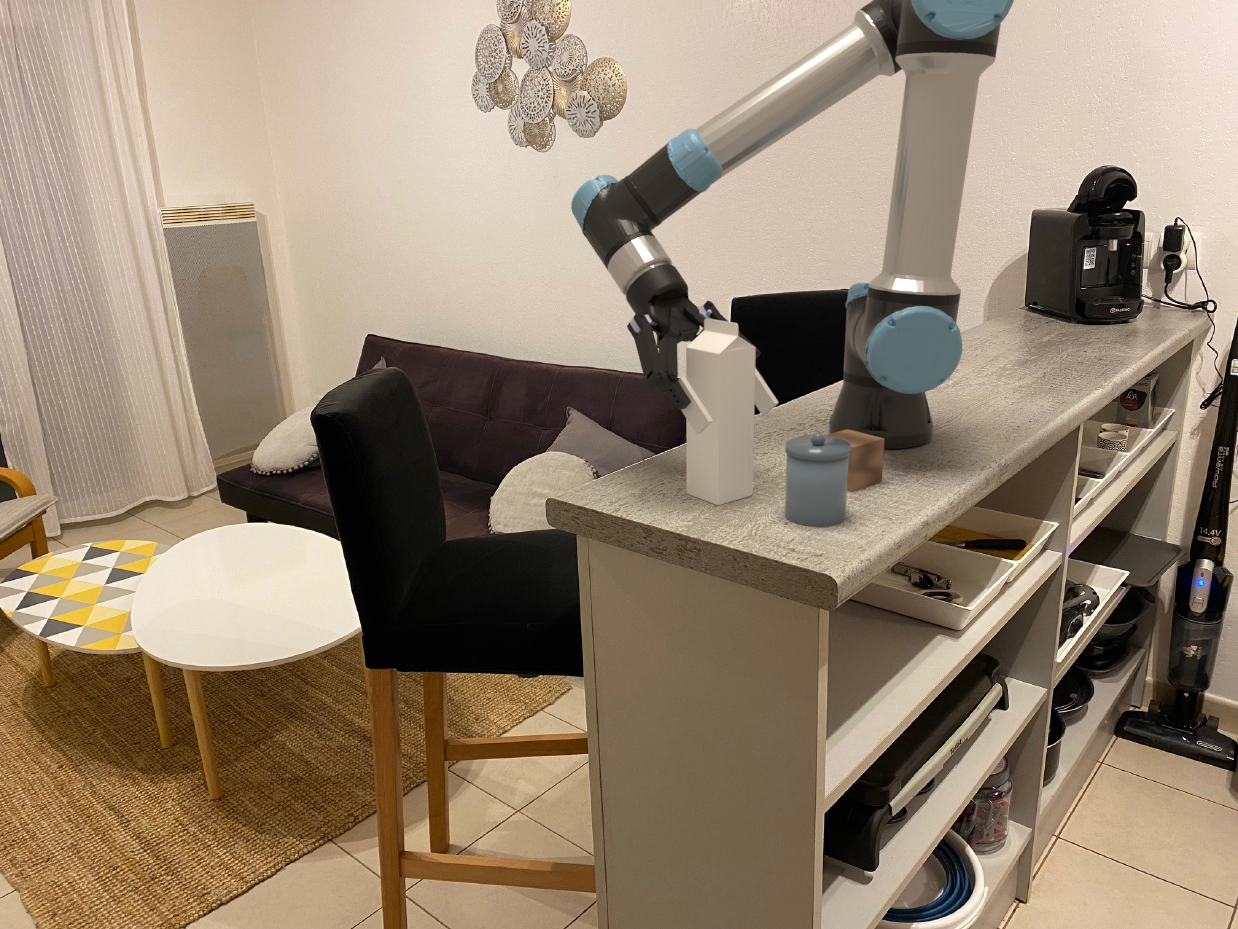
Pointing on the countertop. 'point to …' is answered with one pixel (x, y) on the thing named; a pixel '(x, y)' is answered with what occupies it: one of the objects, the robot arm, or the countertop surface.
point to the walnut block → (862, 458)
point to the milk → (721, 414)
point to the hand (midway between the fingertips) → (739, 418)
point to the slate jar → (816, 480)
